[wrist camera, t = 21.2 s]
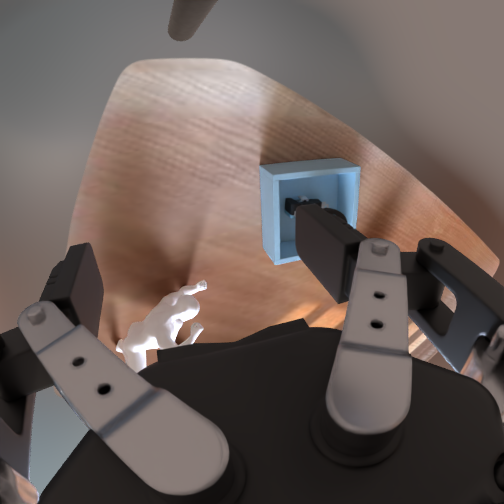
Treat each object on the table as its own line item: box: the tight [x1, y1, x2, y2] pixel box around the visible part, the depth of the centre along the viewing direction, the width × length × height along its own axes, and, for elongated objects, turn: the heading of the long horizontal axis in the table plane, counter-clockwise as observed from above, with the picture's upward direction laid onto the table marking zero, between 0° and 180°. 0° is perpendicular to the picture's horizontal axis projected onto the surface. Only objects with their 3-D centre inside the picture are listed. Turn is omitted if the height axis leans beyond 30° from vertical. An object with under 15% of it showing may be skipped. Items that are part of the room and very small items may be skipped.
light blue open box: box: [259, 158, 360, 265], centre depth 45 cm, size 13×13×5 cm
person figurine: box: [116, 280, 207, 373], centre depth 45 cm, size 13×13×18 cm
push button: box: [285, 196, 348, 224], centre depth 42 cm, size 7×5×10 cm
